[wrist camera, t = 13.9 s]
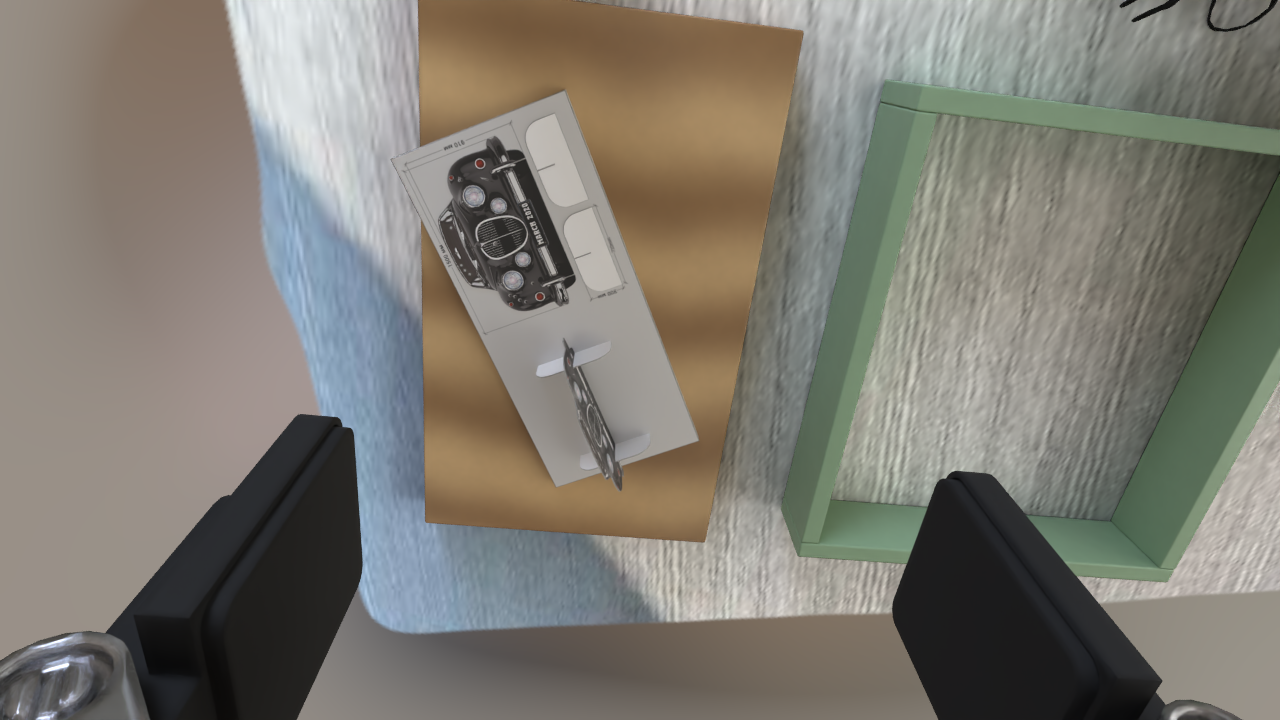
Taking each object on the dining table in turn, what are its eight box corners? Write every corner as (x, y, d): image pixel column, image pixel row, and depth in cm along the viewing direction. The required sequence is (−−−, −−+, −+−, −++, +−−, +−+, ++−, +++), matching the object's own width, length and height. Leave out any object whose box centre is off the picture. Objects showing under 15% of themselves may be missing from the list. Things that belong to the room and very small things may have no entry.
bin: (884, 79, 26) (922, 84, 23) (1317, 134, 27) (1409, 147, 24) (779, 508, 34) (797, 557, 31) (1118, 534, 35) (1168, 583, 32)
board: (428, -17, 24) (417, -21, 23) (794, 31, 25) (804, 30, 24) (432, 503, 33) (424, 523, 32) (701, 523, 34) (705, 543, 33)
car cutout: (698, 435, 30) (711, 497, 26) (556, 481, 31) (548, 549, 27) (565, 89, 24) (556, 99, 20) (394, 157, 25) (351, 180, 21)
